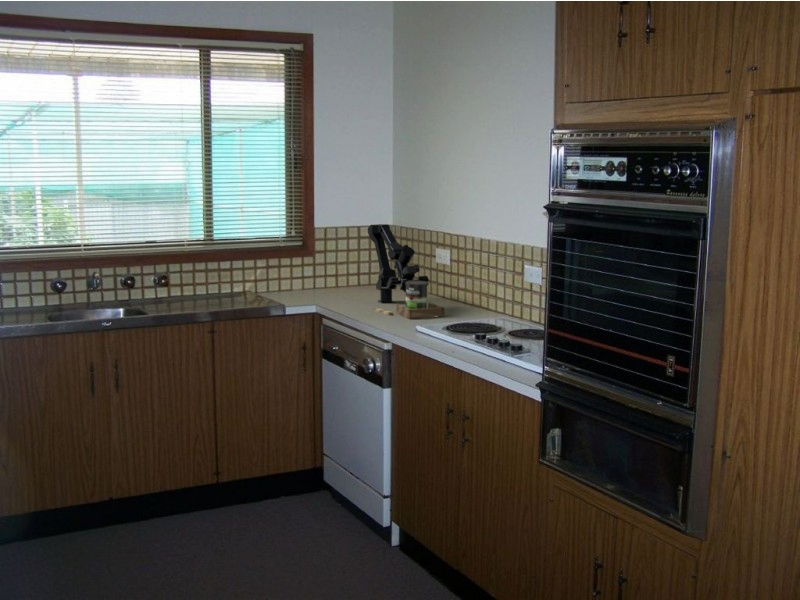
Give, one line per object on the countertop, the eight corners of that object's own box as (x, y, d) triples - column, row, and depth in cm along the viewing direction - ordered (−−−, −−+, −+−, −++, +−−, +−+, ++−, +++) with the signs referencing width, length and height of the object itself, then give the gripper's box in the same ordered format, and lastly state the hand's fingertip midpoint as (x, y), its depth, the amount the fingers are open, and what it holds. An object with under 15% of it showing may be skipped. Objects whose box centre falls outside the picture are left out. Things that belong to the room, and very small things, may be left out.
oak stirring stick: (373, 311, 417) (373, 308, 417) (377, 311, 418) (377, 307, 418) (389, 316, 406) (389, 312, 405) (392, 315, 407) (392, 312, 406)
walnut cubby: (396, 313, 410) (396, 304, 409) (430, 311, 416) (430, 302, 415) (409, 319, 396) (409, 310, 395) (444, 316, 402) (444, 307, 401)
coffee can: (421, 316, 402) (421, 285, 399) (400, 313, 407) (401, 282, 405) (432, 312, 411) (432, 281, 408) (412, 309, 416) (412, 279, 413)
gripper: (389, 259, 411) (398, 287, 403) (427, 258, 418) (437, 285, 409) (382, 275, 419) (391, 302, 411) (420, 273, 426) (429, 299, 418)
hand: (412, 297), depth 412 cm, fingers closed, pressing on coffee can
